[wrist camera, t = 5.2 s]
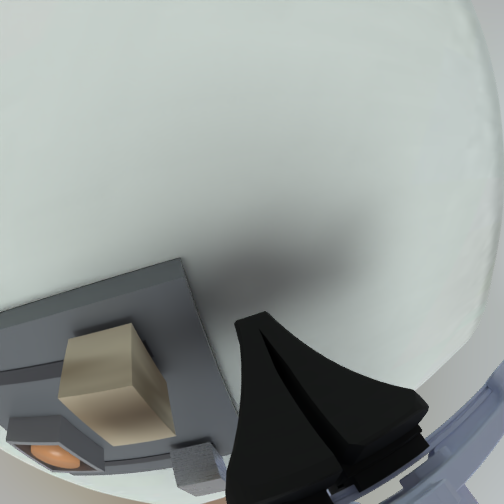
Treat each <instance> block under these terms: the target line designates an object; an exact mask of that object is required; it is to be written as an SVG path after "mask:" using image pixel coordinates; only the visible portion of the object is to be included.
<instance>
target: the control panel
mask: <svg viewBox="0 0 504 504" xmlns="http://www.w3.org/2000/svg"><path fill="white" fill-rule="evenodd" d="M129 323H132V325H133V326H134V328H135V330H136V332H137V334H138V336H139V337H140V339H141V341H142V343H143V344H144V346H145V348H146V350H147V351H148V353H149V355H150V356H151V358H152V360H153V361H154V363H155V365H156V366H157V368H158V369H159V371H160V373H161V374H162V376H163V377H164V379H165V381H166V382H167V389H168V395H169V401H170V406H171V412H172V417H173V423H174V428H175V433H176V436H174V437H170V438H165V439H159V440H154V441H148V442H142V443H136V444H129V445H121V446H112V445H111V444H110V443H108V442H107V441H106V440H105V439H103V438H102V437H101V436H99V435H98V434H97V433H96V432H95V431H93V430H92V429H91V428H90V427H89V426H87V425H86V424H85V423H84V422H83V421H82V420H80V419H79V418H78V417H77V416H76V415H75V414H74V413H73V412H72V411H70V410H69V409H68V408H67V407H66V406H65V405H64V404H63V403H62V402H61V401H60V400H59V399H58V393H59V386H60V380H61V374H62V368H63V363H64V358H65V353H66V348H67V344H68V339H71V338H75V337H79V336H83V335H87V334H91V333H95V332H99V331H102V330H106V329H110V328H114V327H118V326H121V325H125V324H129ZM238 418H239V416H238V414H237V412H236V409H235V407H234V405H233V402H232V400H231V397H230V395H229V393H228V390H227V388H226V385H225V383H224V380H223V378H222V375H221V373H220V370H219V368H218V365H217V363H216V360H215V358H214V355H213V352H212V350H211V347H210V344H209V342H208V339H207V336H206V334H205V331H204V328H203V325H202V323H201V320H200V317H199V314H198V311H197V308H196V305H195V302H194V299H193V297H192V294H191V291H190V288H189V284H188V281H187V278H186V275H185V272H184V269H183V266H182V263H181V259H180V258H178V259H174V260H171V261H167V262H164V263H161V264H157V265H154V266H150V267H147V268H144V269H140V270H137V271H134V272H130V273H127V274H124V275H120V276H117V277H114V278H110V279H107V280H104V281H100V282H97V283H94V284H90V285H87V286H84V287H81V288H77V289H74V290H71V291H68V292H64V293H61V294H58V295H55V296H52V297H48V298H45V299H42V300H39V301H36V302H33V303H29V304H26V305H23V306H20V307H17V308H14V309H11V310H8V311H4V312H1V313H0V425H1V426H2V427H3V428H4V429H5V430H7V436H6V442H8V443H9V444H10V445H12V446H13V447H15V448H16V449H17V450H19V451H20V452H22V453H23V454H25V455H26V456H28V457H29V458H31V459H32V460H34V461H35V462H37V463H38V464H40V465H42V466H43V467H45V468H47V469H48V470H50V471H52V472H64V473H70V474H72V475H112V474H125V473H136V472H145V471H152V470H159V469H166V468H172V467H173V466H172V461H171V457H170V452H169V451H170V450H175V449H180V448H185V447H190V446H194V445H198V444H202V443H206V442H210V443H211V444H212V446H213V447H214V448H215V449H216V450H217V452H218V453H219V454H220V455H221V456H225V455H229V454H232V450H233V445H234V440H235V435H236V430H237V424H238ZM31 445H59V446H60V447H61V448H63V449H64V450H66V451H67V452H69V453H70V454H72V455H73V456H75V457H76V458H78V459H79V460H80V466H79V467H78V468H72V469H70V468H61V467H57V466H53V465H50V464H48V463H45V462H43V461H41V460H39V459H38V458H36V457H35V456H34V455H33V454H32V453H31Z"/></svg>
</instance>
